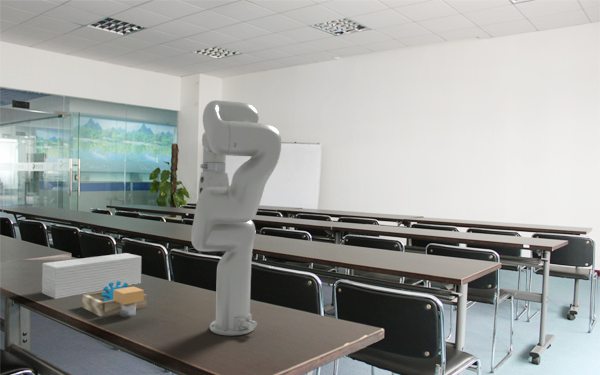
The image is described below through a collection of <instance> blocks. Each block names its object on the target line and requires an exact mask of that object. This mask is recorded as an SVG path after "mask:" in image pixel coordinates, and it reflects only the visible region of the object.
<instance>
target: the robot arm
mask: <svg viewBox="0 0 600 375" xmlns="http://www.w3.org/2000/svg"><path fill="white" fill-rule="evenodd" d="M259 118H260V117H259V113H258V111H257V109H256V108H255V107H254V106H253V105H251V104H249V103H245V102H239V101H230V100H229V101H227V100H216V99H215V100H211V101H209V102H208V103H207V104H206V106H205V107H204V110H203V113H202V124H203V125H202V126H203V129H204V132H203V133H202V138H201V142H202V144H201V145H202V146H203V148H202V150H203V152H202V153H203V154H202V164H200V166H199V167H200V169H202V171H201V172H200V176H199V177H200V178H199V182H198V194H197V196H198V198H197V201H196V206H195V211H194V218H193V222H192V226H191V232H190V233H191V234H190V236H191V238H190V240H191V245H192V246H193V248H194V249H195V250H196V251H198V252H224V254H223V255H222V256H221V258H220V259H219V261H218V263H217V267H216V288H215V289H216V292H215V294H216V296H215V320H213V321H212V322H210V323H209V330H210V331H211V332H212V333H214V334H217V335H221V336H232V337H233V336H242V335H246V334H249V333H251V332H253V331H254V330H255V329H256V327H257V326H258V322H257V321H255V320H253V314H252V313H251V286H252V284H251V282H252V281H251V280H252V279H251V278H252V257H253V249H254V242H255V238H256V226H255V223H254V221H253V219H254V218H256V215H257V212H258V210H259V206H260V203H261V201H262V197H263V193H264V191H265V186H266V184H267V183H268V180H269V179H270V177H271V175H272V174H273V172H274V171H275V169H276V166H277V165H278V162H279V159H280V155H281V150H282V136H281V134H280V132H279V131H278V129H277V128H276V127H274V126H272V125H269V124H266V123H262V122H259ZM226 156H230V157H231V156H232V157H234V156H235V157H237V156H238V157H249V159H247V161H245V162H243V163H242V164H241V165H240V166H239V167H238V168H237V169H236V170H235V172H234V173H233V175H232V178H231V183H230V181H229V175H228V172H226V161H227V160H226Z"/></svg>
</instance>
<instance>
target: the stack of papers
mask: <svg viewBox="0 0 600 375" xmlns="http://www.w3.org/2000/svg"><path fill="white" fill-rule="evenodd" d="M41 266H42V269H41V270H42V273H41V274H42V277H41V294H43V295H46V296H48V297H50V298H51V299H52V298H53V299H61V298H62V299H63V298H68V297H71V296H78V295H82V294H88V293H94V292H100V291H104V290H103V289H104V287H106V286H107V287H108V290H111V288H110V286H109V283H111V282H113V283H114V284H113V287H116V283H117V281H120V282H121V284H120V285H119V287H121V286H123V285H124V283H127V284H128V286H132V284H134V285H138V283H139V284H141V283H142V256H141V255H137V254H131V253H127V252H123V253H116V254H109V255H100V256H90V257H84V258H76V259H75V258H74V259H67V260H58V261H49V262H43V263H42V265H41Z"/></svg>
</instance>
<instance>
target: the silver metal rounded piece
mask: <svg viewBox="0 0 600 375" xmlns="http://www.w3.org/2000/svg"><path fill="white" fill-rule="evenodd" d="M119 314H120V317H123V318H132V317H134V316H136V315H137V309H136V302H134V303H129V304H124V305H123V304H121V311H120V313H119Z"/></svg>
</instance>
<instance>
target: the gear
mask: <svg viewBox="0 0 600 375" xmlns="http://www.w3.org/2000/svg"><path fill="white" fill-rule="evenodd" d="M113 284H114V283H113V282H111V283H109V286H110V288H111V289H108V287H107V286H106V287H104V289H103V290H102V291H106V292H108V295H107V294H106V293H105V292H103V293H102V297H108V298H110V299H107V298H104V300H103V302H104V301H110V300H113V290H115V289H121V288H124V287H128V286H129V285H128V284H127V283H124V285H123V286H121V287H119V285H120V284H121V282H120V281H117V283H116V287H113Z"/></svg>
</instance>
